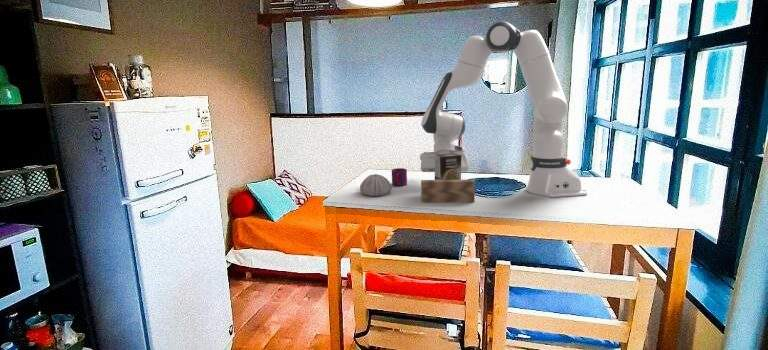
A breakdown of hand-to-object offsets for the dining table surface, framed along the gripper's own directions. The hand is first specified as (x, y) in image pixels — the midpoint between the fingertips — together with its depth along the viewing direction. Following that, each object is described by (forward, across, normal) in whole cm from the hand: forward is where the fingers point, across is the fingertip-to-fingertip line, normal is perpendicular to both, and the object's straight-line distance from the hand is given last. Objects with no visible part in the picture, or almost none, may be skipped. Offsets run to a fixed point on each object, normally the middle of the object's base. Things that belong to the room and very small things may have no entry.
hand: (445, 179), depth 165 cm
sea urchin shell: (+6, -29, +1) cm, 30 cm away
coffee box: (+7, +1, 0) cm, 7 cm away
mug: (-3, -20, +10) cm, 22 cm away
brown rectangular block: (+14, 0, -7) cm, 15 cm away
